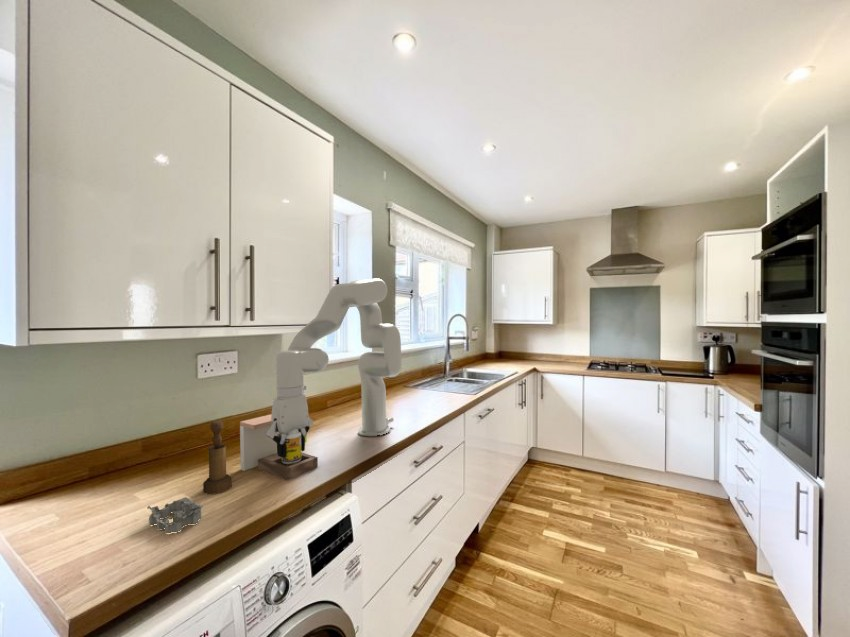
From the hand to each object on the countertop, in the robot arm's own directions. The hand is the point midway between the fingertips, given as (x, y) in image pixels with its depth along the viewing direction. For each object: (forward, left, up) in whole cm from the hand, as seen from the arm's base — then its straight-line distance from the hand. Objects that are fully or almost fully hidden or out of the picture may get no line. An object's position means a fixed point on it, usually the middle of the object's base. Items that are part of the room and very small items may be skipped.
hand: (291, 452), depth 105 cm
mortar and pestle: (+18, -6, -5) cm, 20 cm away
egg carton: (+31, +3, -6) cm, 32 cm away
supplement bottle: (0, 0, -3) cm, 3 cm away
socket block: (0, -2, -5) cm, 5 cm away
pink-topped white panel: (0, -10, -5) cm, 11 cm away
